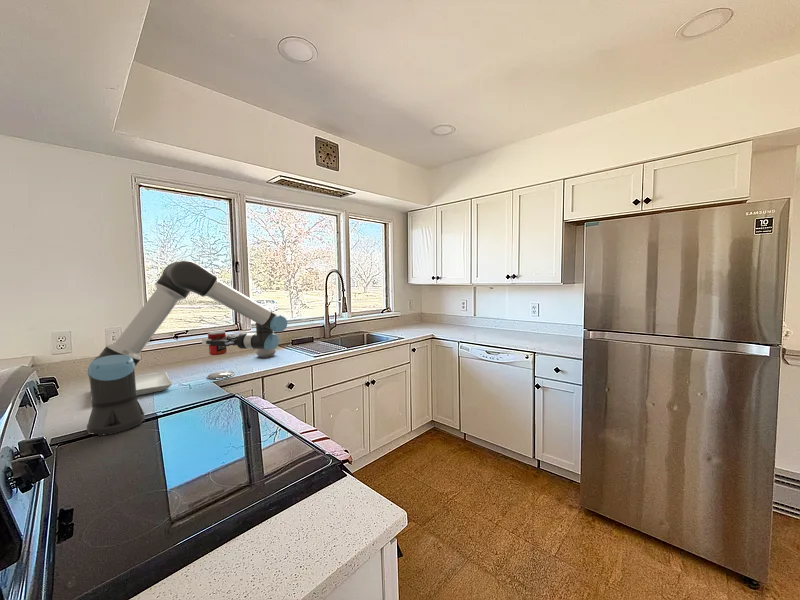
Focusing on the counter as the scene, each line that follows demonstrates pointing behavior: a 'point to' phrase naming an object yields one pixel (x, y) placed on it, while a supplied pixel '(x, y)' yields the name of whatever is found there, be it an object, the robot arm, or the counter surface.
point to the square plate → (151, 383)
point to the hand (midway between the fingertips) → (209, 340)
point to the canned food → (217, 349)
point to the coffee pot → (265, 352)
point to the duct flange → (220, 374)
